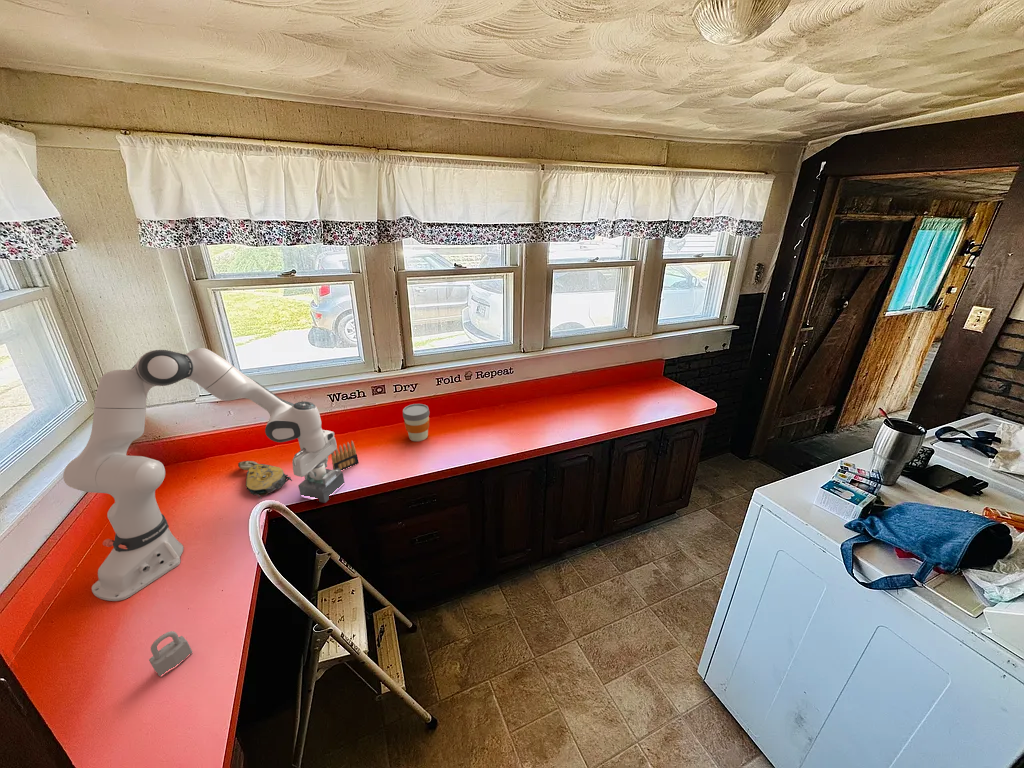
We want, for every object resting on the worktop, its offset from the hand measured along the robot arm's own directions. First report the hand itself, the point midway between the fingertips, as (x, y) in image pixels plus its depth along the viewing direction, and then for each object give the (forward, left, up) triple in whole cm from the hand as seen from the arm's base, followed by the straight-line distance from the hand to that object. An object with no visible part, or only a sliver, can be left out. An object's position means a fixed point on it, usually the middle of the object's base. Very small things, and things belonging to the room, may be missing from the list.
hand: (319, 472), depth 161 cm
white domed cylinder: (0, 0, -2) cm, 2 cm away
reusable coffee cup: (+48, -17, -9) cm, 52 cm away
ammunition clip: (+16, +1, -10) cm, 19 cm away
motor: (+2, 0, -9) cm, 9 cm away
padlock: (-67, -9, -9) cm, 68 cm away
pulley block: (-1, +29, -10) cm, 31 cm away
